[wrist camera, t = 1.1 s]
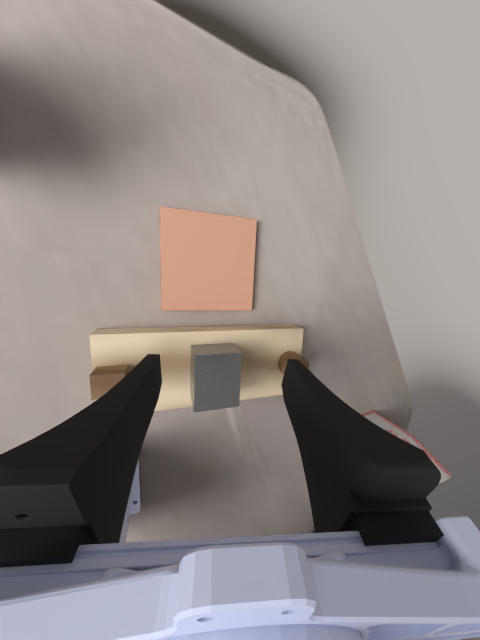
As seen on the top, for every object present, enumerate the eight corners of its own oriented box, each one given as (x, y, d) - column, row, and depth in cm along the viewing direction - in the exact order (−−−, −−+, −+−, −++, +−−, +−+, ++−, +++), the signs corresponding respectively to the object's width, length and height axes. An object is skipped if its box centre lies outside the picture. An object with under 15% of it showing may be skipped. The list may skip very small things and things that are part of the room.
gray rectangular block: (230, 390, 23) (239, 406, 20) (190, 394, 22) (194, 412, 19) (232, 342, 22) (241, 352, 20) (190, 344, 21) (194, 355, 18)
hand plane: (287, 384, 28) (306, 400, 24) (102, 405, 22) (89, 432, 18) (293, 324, 27) (314, 332, 23) (97, 328, 20) (82, 340, 17)
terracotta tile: (249, 309, 25) (251, 310, 24) (161, 309, 22) (161, 310, 21) (254, 220, 23) (256, 219, 22) (160, 208, 20) (159, 206, 20)
